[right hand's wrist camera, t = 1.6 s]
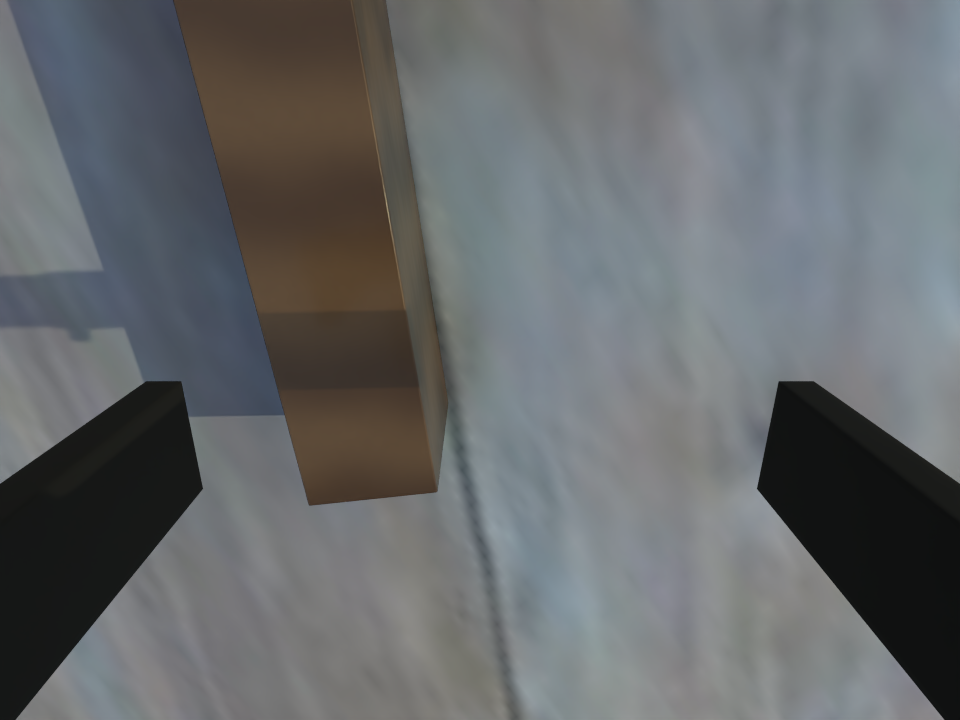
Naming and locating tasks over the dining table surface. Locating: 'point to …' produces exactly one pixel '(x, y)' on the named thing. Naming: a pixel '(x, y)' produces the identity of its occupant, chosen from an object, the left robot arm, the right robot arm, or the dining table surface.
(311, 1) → the beam
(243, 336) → the dining table surface
